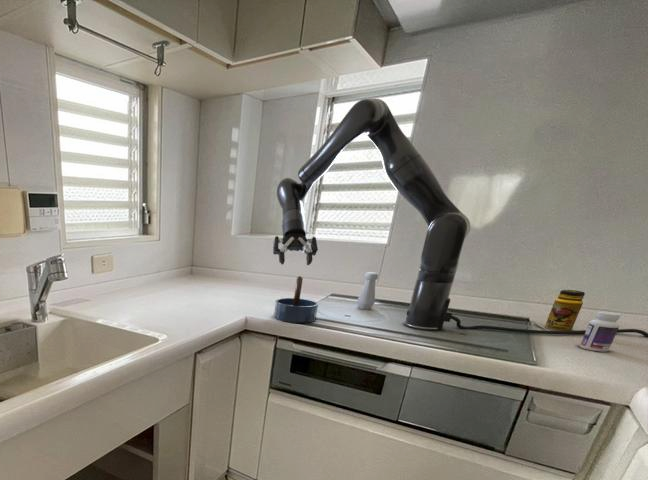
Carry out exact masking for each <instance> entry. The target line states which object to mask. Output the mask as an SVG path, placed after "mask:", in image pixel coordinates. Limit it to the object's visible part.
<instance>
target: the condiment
mask: <svg viewBox="0 0 648 480" xmlns="http://www.w3.org/2000/svg"><path fill="white" fill-rule="evenodd" d="M585 295H586V293H585V291H581V290H575V289H574V290H573V289H561V291H559V294H558V296H557V298H556V299H555V300H554V302H553V304H552V307H551V309H550V312H549V313H548V316H547V319H546V323H545V324H538V323H536V324H535V325H536V326H539V327H540V328H542V329H544V331H574V330H573V328H574V325H575V323H576V321H577V318H578V316H579V313H580V311H581V308H582V306H583V305H584V302H583V300H584V297H585Z"/></svg>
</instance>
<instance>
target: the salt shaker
mask: <svg viewBox="0 0 648 480" xmlns="http://www.w3.org/2000/svg"><path fill="white" fill-rule="evenodd" d="M364 279H365V282H364V284H363V286H362V289H361V291H360V293H359V296H358V298H357V300H356V303H357V306H358V309H361V310H371V309H372V308H373V306H374V305H375V302H376V280H378V279H379V273H377V272H375V271H374V272H373V271H368V272H366V273H365V274H364Z"/></svg>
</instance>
